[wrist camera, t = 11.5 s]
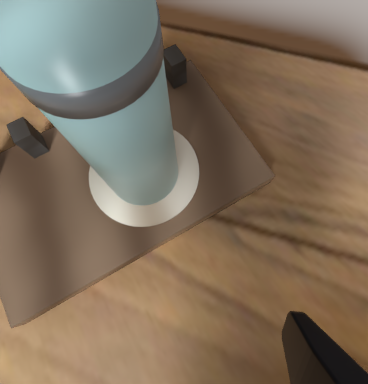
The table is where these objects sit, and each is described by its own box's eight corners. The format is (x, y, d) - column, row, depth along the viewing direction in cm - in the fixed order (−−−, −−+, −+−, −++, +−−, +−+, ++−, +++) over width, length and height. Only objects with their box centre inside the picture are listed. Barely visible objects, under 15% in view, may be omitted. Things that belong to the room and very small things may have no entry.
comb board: (24, 324, 19) (-19, 336, 15) (-27, 180, 22) (-73, 159, 18) (269, 182, 21) (286, 161, 17) (190, 72, 24) (190, 34, 21)
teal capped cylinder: (150, 220, 19) (66, 106, 6) (94, 180, 20) (-74, 14, 7) (192, 163, 20) (193, -27, 7) (137, 128, 21) (57, -91, 8)
